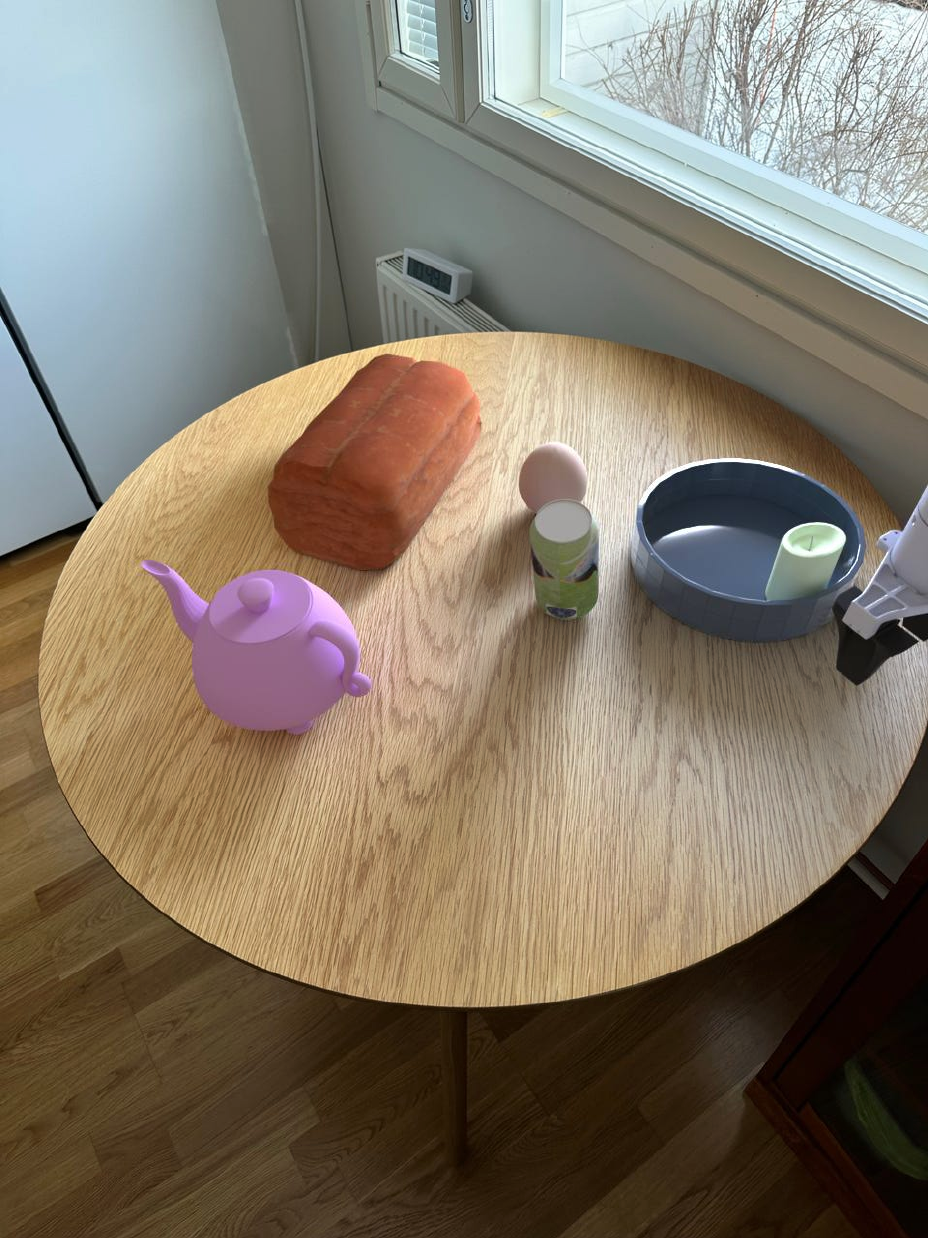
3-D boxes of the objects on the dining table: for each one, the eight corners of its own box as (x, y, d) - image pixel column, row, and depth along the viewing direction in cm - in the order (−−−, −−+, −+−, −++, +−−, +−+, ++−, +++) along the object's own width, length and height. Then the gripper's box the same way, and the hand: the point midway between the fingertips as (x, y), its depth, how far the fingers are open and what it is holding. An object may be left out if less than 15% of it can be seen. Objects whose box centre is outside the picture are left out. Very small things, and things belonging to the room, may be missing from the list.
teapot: (139, 711, 73) (86, 615, 63) (228, 603, 81) (192, 505, 72) (337, 782, 67) (310, 688, 58) (410, 657, 76) (397, 558, 66)
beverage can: (605, 590, 81) (617, 494, 72) (580, 642, 76) (590, 546, 67) (545, 573, 83) (550, 477, 74) (517, 623, 78) (519, 527, 69)
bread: (491, 435, 99) (490, 354, 91) (397, 581, 82) (385, 499, 75) (376, 411, 103) (365, 333, 96) (264, 546, 87) (240, 465, 79)
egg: (597, 504, 89) (603, 440, 83) (562, 541, 86) (566, 477, 79) (541, 482, 92) (543, 418, 86) (505, 516, 89) (505, 453, 83)
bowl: (838, 506, 88) (853, 468, 84) (860, 656, 74) (879, 619, 70) (637, 486, 91) (643, 449, 88) (622, 626, 77) (628, 589, 74)
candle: (760, 609, 77) (782, 544, 71) (769, 574, 80) (790, 509, 74) (816, 623, 76) (843, 558, 70) (822, 587, 79) (848, 522, 73)
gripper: (979, 446, 56) (900, 582, 67) (837, 524, 51) (775, 659, 61) (1078, 503, 53) (977, 638, 63) (935, 593, 47) (851, 725, 58)
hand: (882, 653), depth 62 cm, fingers open, 7 cm apart
